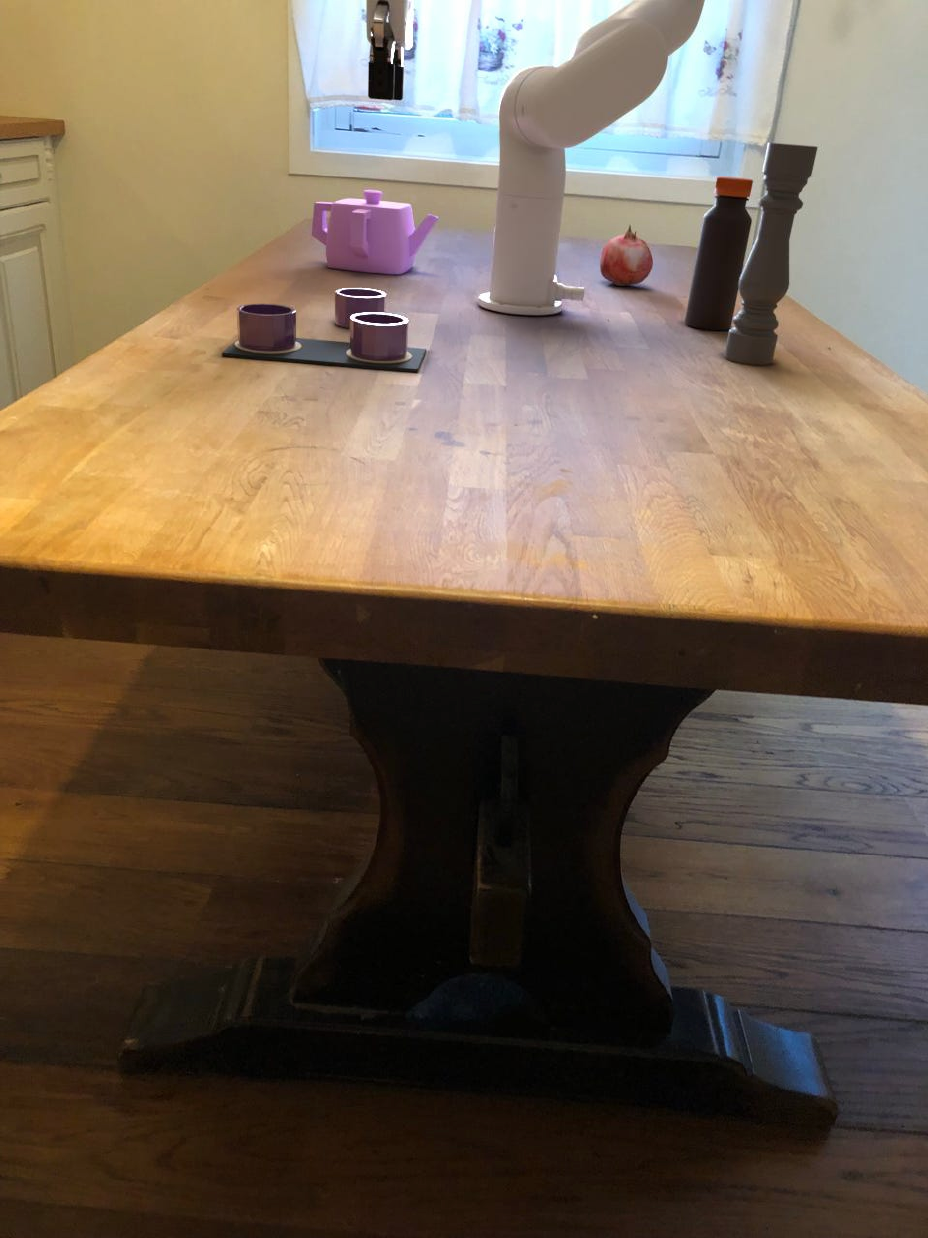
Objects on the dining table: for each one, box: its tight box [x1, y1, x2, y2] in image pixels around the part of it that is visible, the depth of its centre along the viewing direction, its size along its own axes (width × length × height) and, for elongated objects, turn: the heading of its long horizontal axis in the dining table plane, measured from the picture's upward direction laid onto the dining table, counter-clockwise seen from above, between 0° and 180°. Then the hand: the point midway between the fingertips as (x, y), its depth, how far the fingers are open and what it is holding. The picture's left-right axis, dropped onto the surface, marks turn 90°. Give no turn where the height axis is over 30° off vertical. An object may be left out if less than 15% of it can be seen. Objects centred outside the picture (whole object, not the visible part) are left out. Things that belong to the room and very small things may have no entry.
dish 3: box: [349, 313, 409, 361], centre depth 109 cm, size 6×7×4 cm
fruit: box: [599, 224, 654, 287], centre depth 167 cm, size 9×10×10 cm
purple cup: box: [236, 303, 297, 351], centre depth 109 cm, size 6×7×4 cm
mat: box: [221, 337, 427, 374], centre depth 110 cm, size 22×10×1 cm, turn 86°
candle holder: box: [723, 142, 819, 366], centre depth 117 cm, size 6×6×25 cm
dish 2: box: [334, 287, 387, 329], centre depth 125 cm, size 6×7×4 cm
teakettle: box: [311, 189, 439, 275], centre depth 164 cm, size 17×17×12 cm
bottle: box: [684, 176, 754, 331], centre depth 136 cm, size 7×7×20 cm
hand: (386, 99), depth 124 cm, fingers open, 9 cm apart
